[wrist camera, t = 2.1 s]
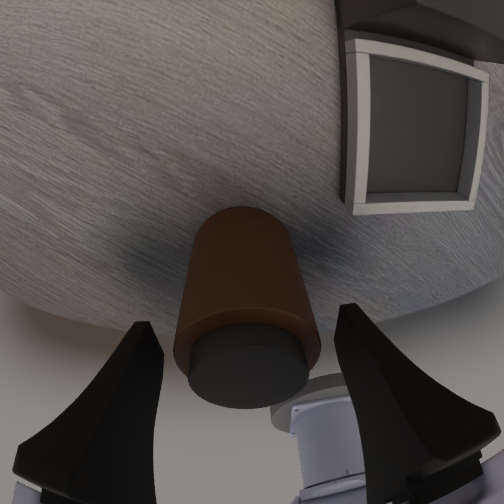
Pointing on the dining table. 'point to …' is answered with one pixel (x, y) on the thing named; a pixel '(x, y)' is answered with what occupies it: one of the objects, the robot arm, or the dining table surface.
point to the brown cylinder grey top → (245, 313)
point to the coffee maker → (414, 101)
